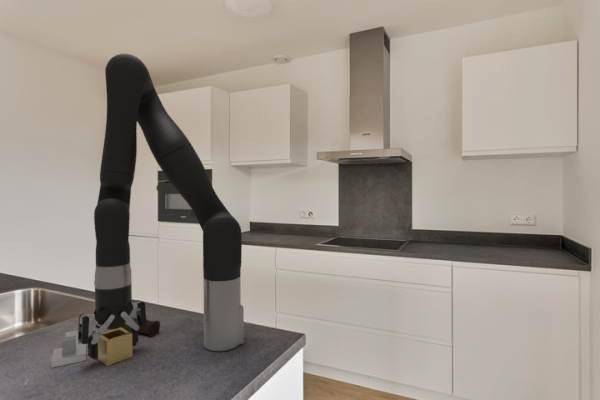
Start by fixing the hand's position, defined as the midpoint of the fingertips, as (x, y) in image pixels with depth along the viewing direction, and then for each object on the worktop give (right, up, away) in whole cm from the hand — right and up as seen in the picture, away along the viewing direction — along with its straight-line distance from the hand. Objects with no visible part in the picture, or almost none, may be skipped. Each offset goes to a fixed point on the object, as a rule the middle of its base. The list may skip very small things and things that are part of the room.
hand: (114, 351), depth 80 cm
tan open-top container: (0, -1, 0) cm, 1 cm away
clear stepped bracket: (-13, -1, +4) cm, 14 cm away
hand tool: (-4, -1, +15) cm, 16 cm away
